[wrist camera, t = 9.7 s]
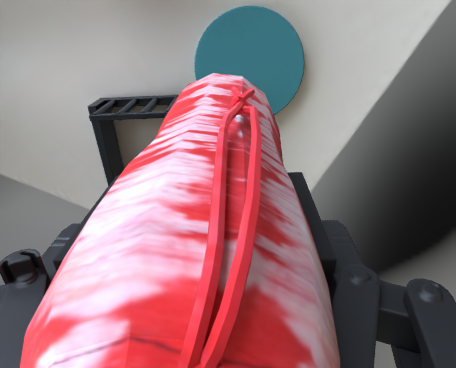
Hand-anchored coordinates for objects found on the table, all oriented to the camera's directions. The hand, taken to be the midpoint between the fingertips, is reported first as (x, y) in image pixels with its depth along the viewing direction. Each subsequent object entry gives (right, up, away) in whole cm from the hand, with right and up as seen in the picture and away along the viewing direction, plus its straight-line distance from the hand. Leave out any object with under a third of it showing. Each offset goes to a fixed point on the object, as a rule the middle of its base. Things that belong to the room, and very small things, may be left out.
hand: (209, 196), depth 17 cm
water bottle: (0, +5, +9) cm, 10 cm away
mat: (+4, +15, +21) cm, 26 cm away
